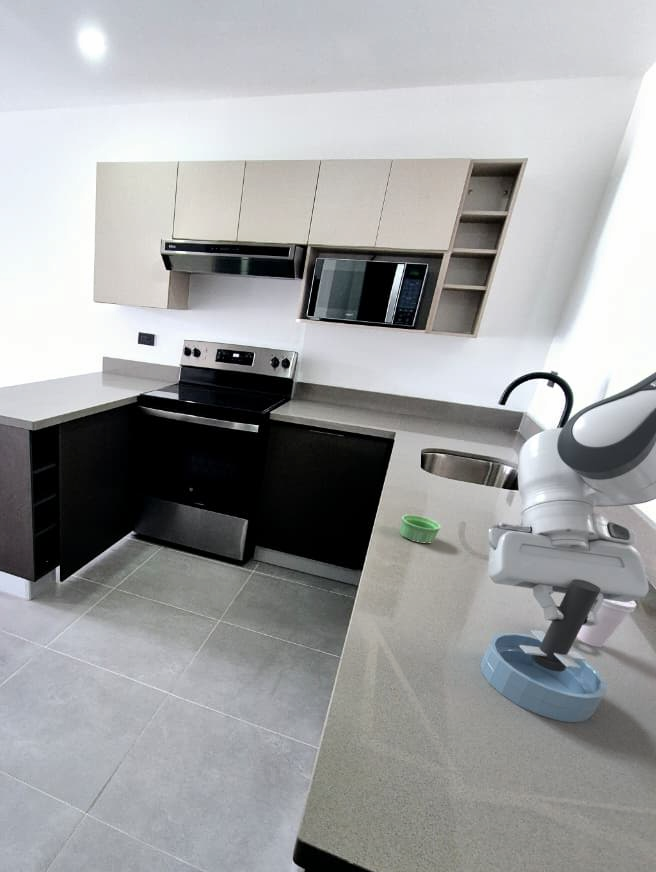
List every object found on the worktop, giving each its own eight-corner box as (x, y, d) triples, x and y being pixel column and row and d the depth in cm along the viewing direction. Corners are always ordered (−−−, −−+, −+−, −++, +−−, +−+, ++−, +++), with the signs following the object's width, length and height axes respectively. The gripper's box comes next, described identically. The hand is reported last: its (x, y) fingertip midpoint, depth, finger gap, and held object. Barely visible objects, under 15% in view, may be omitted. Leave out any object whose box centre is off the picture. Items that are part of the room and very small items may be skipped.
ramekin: (398, 526, 132) (403, 511, 130) (435, 536, 129) (440, 520, 127) (396, 538, 124) (401, 522, 122) (435, 548, 121) (441, 532, 119)
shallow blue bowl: (573, 677, 79) (587, 651, 77) (605, 740, 67) (623, 712, 65) (473, 647, 84) (484, 622, 82) (486, 701, 71) (499, 673, 69)
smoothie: (619, 654, 87) (660, 584, 81) (589, 654, 86) (628, 584, 80) (586, 631, 93) (622, 565, 87) (558, 631, 91) (592, 564, 86)
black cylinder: (557, 647, 77) (595, 573, 72) (596, 684, 69) (642, 605, 64) (503, 640, 77) (536, 566, 72) (536, 677, 69) (576, 597, 64)
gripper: (500, 512, 72) (509, 606, 67) (647, 533, 71) (667, 629, 66) (476, 528, 78) (482, 615, 73) (611, 547, 77) (627, 637, 72)
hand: (571, 622), depth 70 cm, fingers closed on black cylinder, 3 cm apart
